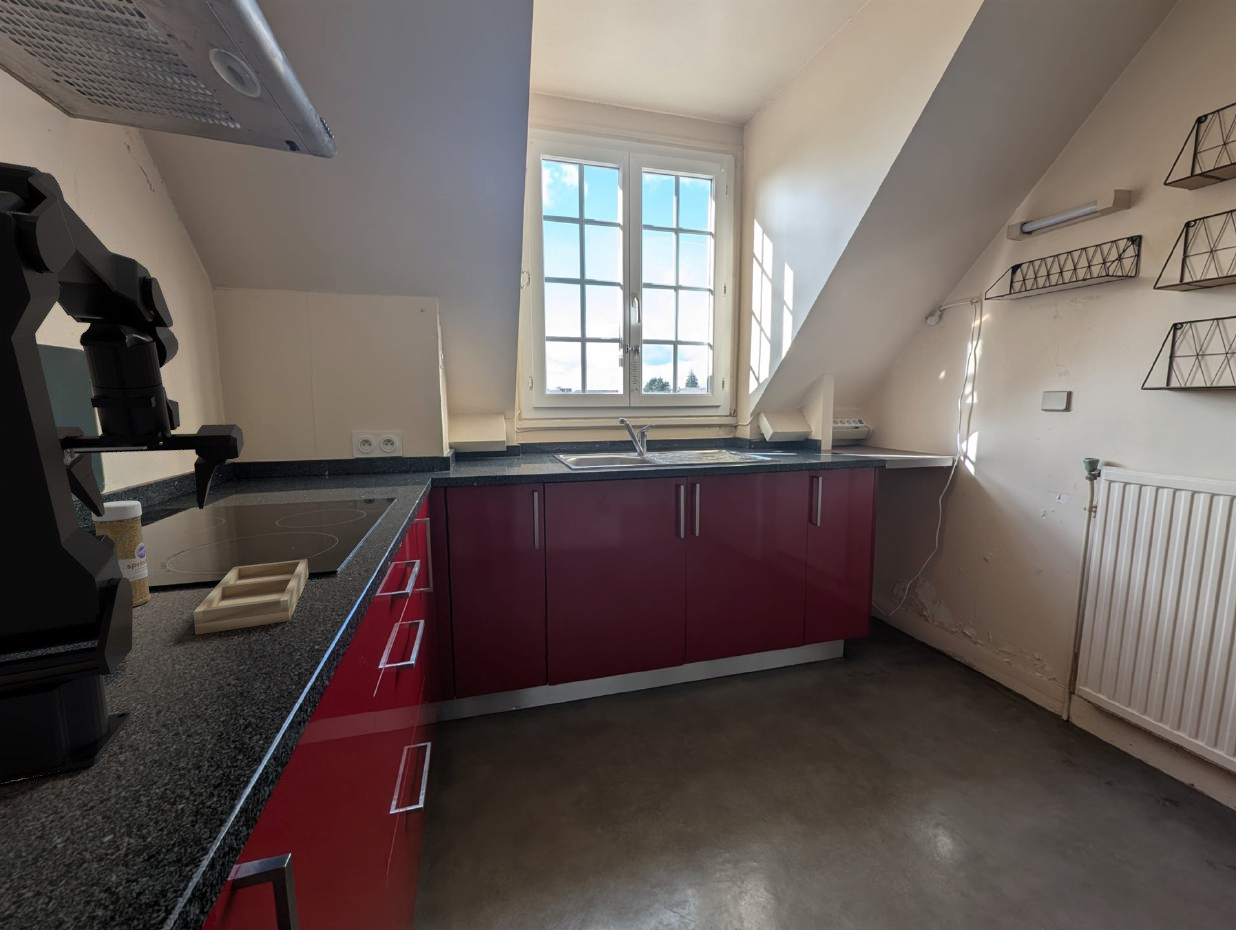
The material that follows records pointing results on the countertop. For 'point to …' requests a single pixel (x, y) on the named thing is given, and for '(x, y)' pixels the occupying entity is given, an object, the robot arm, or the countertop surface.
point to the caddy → (252, 596)
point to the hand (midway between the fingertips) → (153, 511)
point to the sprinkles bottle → (127, 543)
